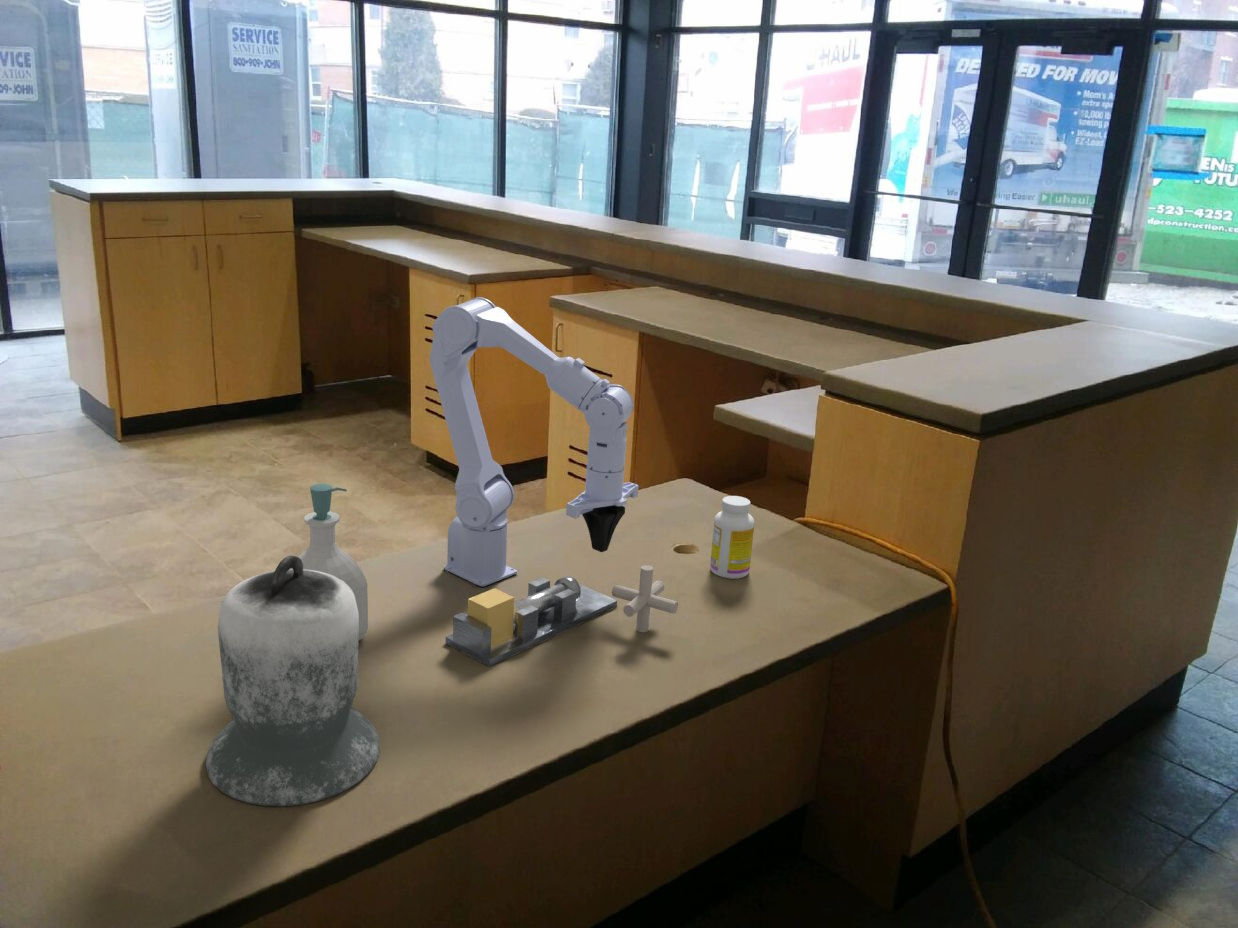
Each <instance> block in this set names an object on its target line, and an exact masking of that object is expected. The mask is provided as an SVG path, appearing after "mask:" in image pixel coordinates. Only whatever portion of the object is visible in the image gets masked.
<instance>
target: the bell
mask: <svg viewBox="0 0 1238 928" xmlns="http://www.w3.org/2000/svg"><path fill="white" fill-rule="evenodd" d="M291 568H292V569H291ZM289 569H291V570H289ZM220 602H221V603H220V607H219V614H218V623H217V633H218V644H219V654H220V665H221V667H220V668H221V675H222V687H223V697H224V701H225V706H226V707H227V709H228V710H229V713H230V714H231V716H232V718H233V719H232V720H231V721H230V722H229V723H228V724H226V725H225V726H224V728H223V729H222V730H221V731H220V732H218V734H217V735H216V736H215V737H214V739H213V740H212V742H211V744H210V747H209V748H208V750H207V755H206V761H205V766H206V772H207V776H208V777H209V779H210V781H211V783H212V784H213V786H214V787H215V788H217V789H218V791H220V792H221V793H222V794H225V795H226V796H228V797H230V798H232V799H234V800H237V801H239V802H243V803H246V804H249V805H256V806H263V807H290V806H291V807H292V806H300V805H307V804H312V803H315V802H320V801H322V800H326V799H329V798H331V797H335V796H337V795H339V794H340V793H342V792H345V791H347V790H349V789H351V788H352V787H354V786H355V785H357V784H358V783H359V782H361V781H362V780H363V779H364V778H365V777H366V776H367V775H369V773H370V772H371V771H372V770H373V768H374V767H375V765H376V763H377V762H378V759H379V756H380V752H381V745H380V741H381V740H380V737H379V733H378V732H377V729H376V727H375V726H374V725H373V724H372V723H371V721H370V719H368V718H367V717H366V716H364V714H362V713H361V712H359V711H358V710H356V709H355V708H353V707H352V705H353V702H354V700H355V698H356V695H357V692H358V690H359V689H358V688H359V641H360V640H359V613H358V609H357V604H356V600H355V595H354V593H353V591H352V590H351V589H350V587H349V586H348V585H347V584H346V583H345V582H344V581H342V580H340V579H338V578H337V577H335V576H333V575H330V574H327V573H324V572H319V571H314V570H303V563H302V560H301V559H300V558H298V556H297V555H289V556H285V557H284V558H282V560H280V562H279V563H278V565H276V568H275V570H272V571H268V572H264V573H260V574H257V575H253V576H251V577H249V578H246V579H244V580H242V581H240V582H239V583H237V584H236V585H235V586H233V587H232V588H231V589H230V590H229V591H228V592H226V595H225V596H224V598H223V600H222V601H220Z"/></svg>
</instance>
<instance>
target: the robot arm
mask: <svg viewBox="0 0 1238 928" xmlns="http://www.w3.org/2000/svg"><path fill="white" fill-rule="evenodd" d="M431 328H432V331H433V338H432V343H431V348H430V354H429V363H430V368H431V369H430V370H431V371H432V376H433V378H434V383H435V387H436V390H437V394H438V397H439V400H440V404H441V407H442V411H443V414H444V419H445V423H446V426H447V430H448V433H449V437H450V440H451V444H452V447H453V451H454V456H455V458H456V461H457V465H458V466H457V467H458V469H459V470H458V473H457V476H456V480H455V484H454V490H455V495H456V502H455V506H454V509H455V513H456V517H454V519H452V521H451V523H449V527H448V530H447V564H445V565H443V570H445V571H447V572H448V573H452V574H453V575H455V576H458V577H459V578H462V579H464V580H466V581H468V582H470V583H473V584H475V585H477V586H479V587H486V586H488V585H491V584H494V583H496V582H499V581H501V580H503V579H507V578H509V577H511V576H513V575H517V574H518V570H517V569H515V568H513V567H511V566H508V565H507V550H508V549H507V547H508V516H507V515H508V514H507V513H508V511H507V510H508V509H510V507H511V506H512V504H513V502H514V500H515V499H514V498H515V490H514V487H513V485H512V484H511V482H510V481H509V479H508V478H507V477H506V476H505V473H504V469H503V467H502V465H500V464H499V463H498V462H497V461H495V460H494V459H493V457H492V452H491V448H490V445H489V442H488V438H487V433H486V430H485V426H484V424H483V420H482V415H481V412H480V408H479V404H478V401H477V397H476V393H475V389H474V385H473V382H472V377H471V375H470V370H469V367H468V362H469V361H470V360H471V358H472V356H473V355H474V354H475V352H476V351H477V349H478V348H502V349H504V350H505V351H507V352H508V353H510V354H511V355H512V356H515V357H516V358H518V359H519V360H520V361H522V362H523V363H525V364H527V365H528V366H530V367H531V368H533V369H535V370H536V371H537V372H539V373H540V374H542V375H544V377H545V382H546V385H547V387H548V389H549V390H551V391H552V392H554V394H556V395H558V396H559V397H560V398H562V399H563V400H565V401H566V402H567V403H568V404H570V405H572V406H573V407H574V408H576V409H577V410H579V411H580V412H581V413H583V414H584V419H585V421H586V423H587V425H588V427H589V431H588V433H589V434H588V435H589V436H588V440H587V441H588V444H587V456H586V458H587V459H586V471H585V472H586V473H585V485H584V486H585V487H584V491H583V492H581V493H580V494H579V495H578V496H577V497H575V498H574V499H572V500H571V501H569V502H567V503H566V507H565V510H566V511H565V515H566V516H567V517H570V518H573V519H575V520H576V519H579V518H580V517H581V515H582V517H583V519H584V522H585V523H586V526H587V529H588V532H589V534H588V535H589V537H590V542H591V548H592V549H593V550H595V551H596V552H597V551H598V552H599V553H603V552H604V553H605V552H606V551H608V549H609V546H610V544H611V541H612V538H613V536H614V532H615V530H616V528H617V526H618V524H619V522H620V520H621V519H622V518H623V517H624V516H625V513H626V507H625V505H627V501H628V500H627V499H629V498H632V499H635V498H637V497H638V496H639V487H640V486H639V485H638V484H637V483H632V482H631V481H629V482H624V480H625V479H624V478H625V467H626V466H625V465H626V452H627V442H628V441H627V435H628V434H627V433H628V432H627V431H628V422H627V420H628V419H629V418H630V416H631V415H632V413H633V410H634V400H633V397H632V395H631V393H630V392H629V391H628V390H626V388H625V387H624V386H622V385H621V384H611V382H610V381H609V380H608V379H606V378H603V379H602V378H601V377H599V376H598V375H597V374H595V373H594V372H592V371H591V370H590V369H588V368H587V367H586V366H584V365H585V364H586V362H585V361H584V360H582V358H580V357H577V358H576V359H575V358H573V357H572V356H565V357H558V356H557V355H556V354H555V353H554V352H553V351H552V350H550V349H549V348H548V347H546V346H545V345H544V344H543V343H542V342H540V341H539V340H538V339H536V337H534V336H533V335H532V334H531V333H529V332H528V331H527V330H526V329H524V327H522V326H521V325H520V324H518V323H517V322H516V321H514V319H513V318H512V317H510V315H509V314H508V313H507V312H506V310H505V309H503V308H501V307H500V306H496V305H495V304H494V302H492V301H491V300H489V299H487V298H485V297H478V296H476V297H473V298H470V299H469V300H468V301H465V302H462V303H460V304H457V305H451V306H449V307H448V306H447V307H446V308H444V309H443V310H442V311H441V312H440V314H439V315H438V316H437V318H436V319H435V321H434V322H433V323H432V325H431Z"/></svg>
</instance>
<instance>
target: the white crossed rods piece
mask: <svg viewBox="0 0 1238 928" xmlns="http://www.w3.org/2000/svg"><path fill="white" fill-rule="evenodd" d="M653 575H654V567H653V566H652V565H649V564H648V565H647V564H644V565H641V566H640V573H639V585H638V590H637V589H633V588H630V587H627V586H623V585H619V584H614V585H613V587H612V590H611V596H612V597H614V598H618V599H621V600H624V601H628V603H627V604H626V605H624V606H623V607H622V608H623V609H622V610H623V613H624V615H625V616H626V617H628V618H629V617H630V618H631V617H633V616H635V614H636V615H637V616H636V625H635V627H636V628H635V630H636V631H637V632H639V633H647V632H648V631H649V627H650V612H651V608H652V609H655V610H659V611H663V612H666V613H669V614H673V615H674V614H676V613H677V610H678V607H679V603H678V601H676V600H672V599H668V598H665V597H662V596H658V595H660V594H661V593H662V592H663V591H664V590H665V584H664V583H663V581H661V580H656V581H654V582H653V579H654V578H653V577H654V576H653Z"/></svg>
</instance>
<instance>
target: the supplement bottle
mask: <svg viewBox="0 0 1238 928" xmlns="http://www.w3.org/2000/svg"><path fill="white" fill-rule="evenodd" d="M721 509H722V510H721V511H719V512H717V514H716V515H715V516H714V520H713V531H712V532H713V533H712V544H711V553H710V567H709V568H710V571H711V572H712V573H713V574H714V575H716V576H719V577H721V578H725V579H731V580H735V579H742V578H745V577H746V576H747V575H749V573H750V570H751V568H750V567H751V559H752V551H753V540H754V532H755V530H754V529H755V519H754V517H753V516H752V515H751V514H750V513H749V511H750V509H751V501H750V499H748V498H746V497H743V496H739V495H728V496H724V497H723V498H722V499H721Z"/></svg>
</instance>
